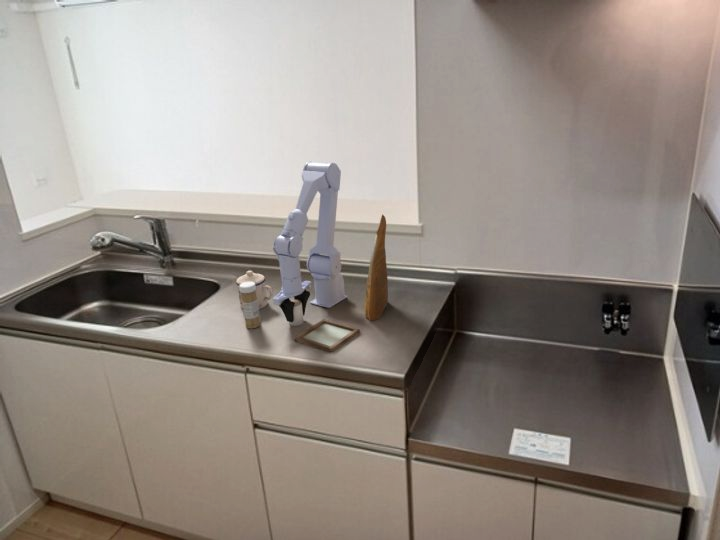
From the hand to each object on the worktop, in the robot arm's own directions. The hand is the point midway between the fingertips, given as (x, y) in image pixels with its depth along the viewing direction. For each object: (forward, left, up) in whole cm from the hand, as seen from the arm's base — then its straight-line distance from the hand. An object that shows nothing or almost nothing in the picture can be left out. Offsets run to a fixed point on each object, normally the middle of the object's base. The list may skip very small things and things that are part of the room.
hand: (295, 317), depth 169 cm
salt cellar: (0, 0, -1) cm, 1 cm away
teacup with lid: (-3, -19, -2) cm, 19 cm away
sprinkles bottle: (+8, -10, -2) cm, 13 cm away
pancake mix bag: (-19, +17, -2) cm, 26 cm away
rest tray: (+2, +14, -1) cm, 14 cm away
